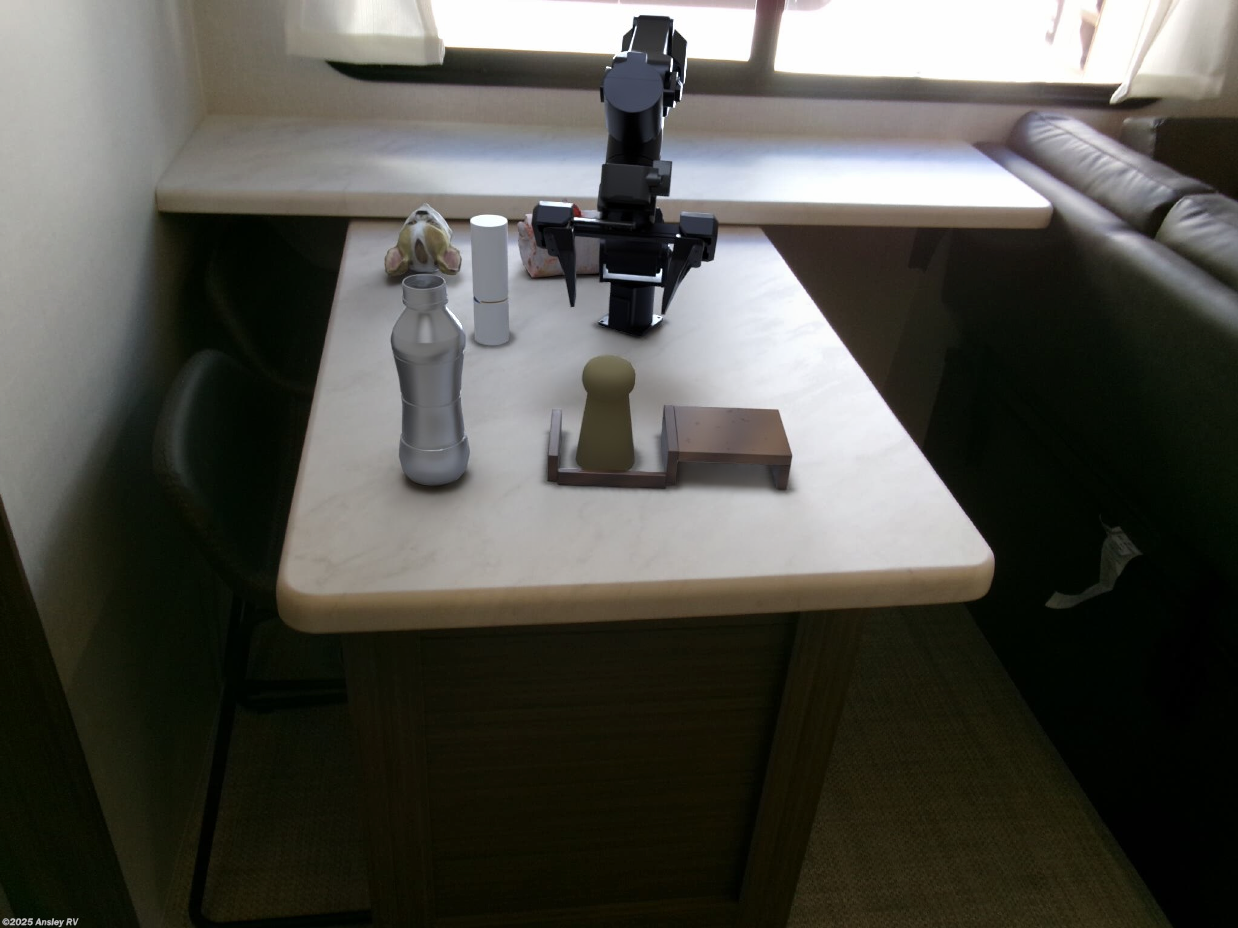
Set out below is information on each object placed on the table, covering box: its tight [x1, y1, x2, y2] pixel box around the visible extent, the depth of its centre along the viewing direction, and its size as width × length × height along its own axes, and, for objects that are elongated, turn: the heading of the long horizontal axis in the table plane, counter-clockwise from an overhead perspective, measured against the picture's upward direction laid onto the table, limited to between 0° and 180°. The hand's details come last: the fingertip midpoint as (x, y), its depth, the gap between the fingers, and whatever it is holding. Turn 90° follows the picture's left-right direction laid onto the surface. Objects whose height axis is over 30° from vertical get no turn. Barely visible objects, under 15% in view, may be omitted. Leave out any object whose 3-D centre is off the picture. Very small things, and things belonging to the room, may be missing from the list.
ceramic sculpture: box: [383, 202, 463, 277], centre depth 135 cm, size 11×9×15 cm
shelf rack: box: [546, 404, 793, 490], centre depth 95 cm, size 24×10×4 cm, turn 90°
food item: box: [516, 197, 601, 278], centre depth 136 cm, size 14×8×10 cm, turn 104°
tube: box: [469, 214, 510, 346], centre depth 115 cm, size 4×4×15 cm
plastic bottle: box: [390, 273, 471, 487], centre depth 87 cm, size 6×7×20 cm
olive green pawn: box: [575, 354, 637, 471], centre depth 93 cm, size 6×6×11 cm
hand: (617, 309), depth 95 cm, fingers open, 9 cm apart
